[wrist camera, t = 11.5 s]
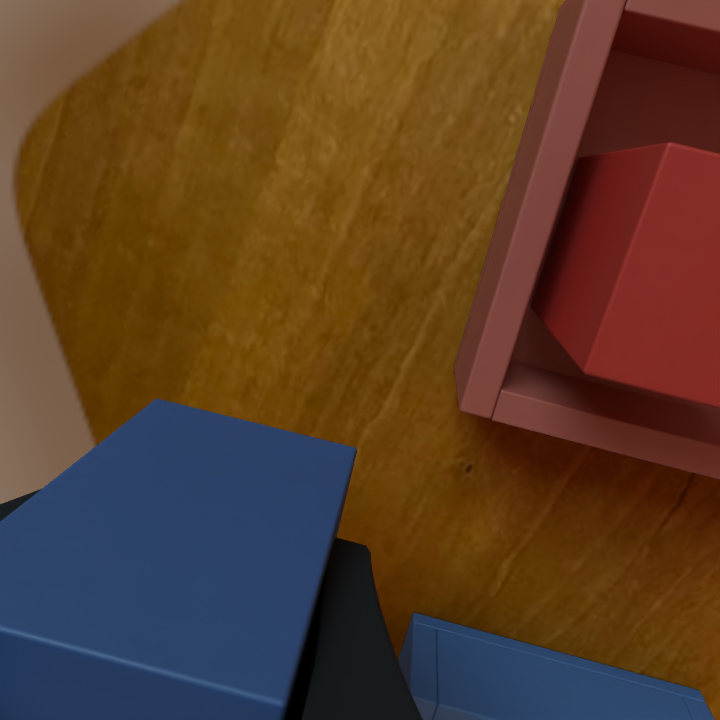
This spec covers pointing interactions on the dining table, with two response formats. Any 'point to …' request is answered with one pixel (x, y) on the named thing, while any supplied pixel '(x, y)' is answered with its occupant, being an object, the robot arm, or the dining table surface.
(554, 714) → the blue bin
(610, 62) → the red bin
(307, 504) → the blue block
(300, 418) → the dining table surface
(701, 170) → the red block
